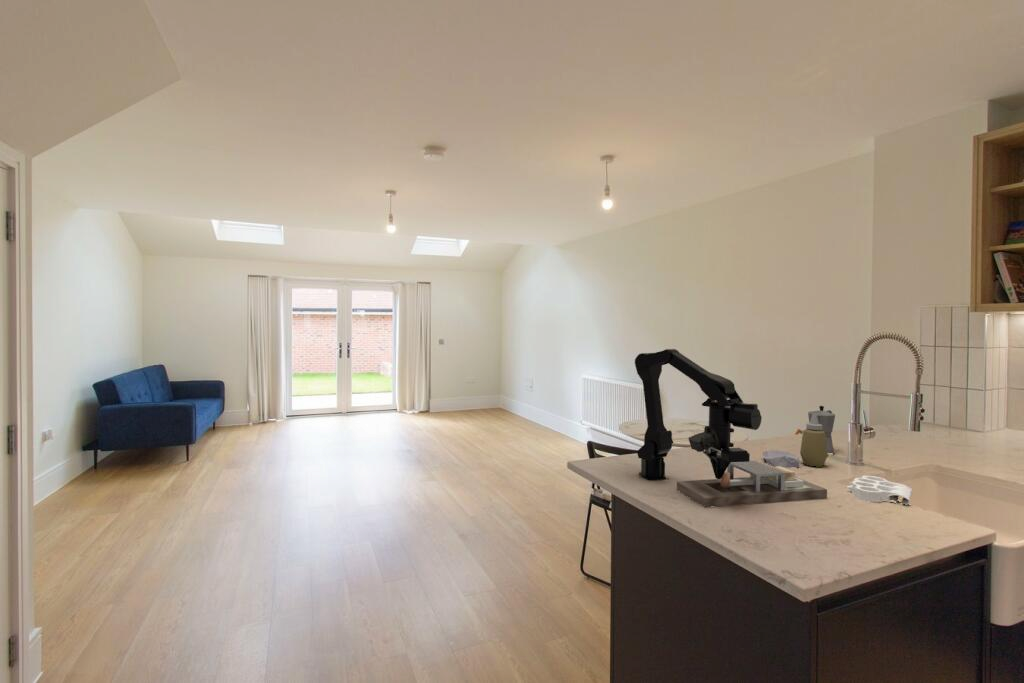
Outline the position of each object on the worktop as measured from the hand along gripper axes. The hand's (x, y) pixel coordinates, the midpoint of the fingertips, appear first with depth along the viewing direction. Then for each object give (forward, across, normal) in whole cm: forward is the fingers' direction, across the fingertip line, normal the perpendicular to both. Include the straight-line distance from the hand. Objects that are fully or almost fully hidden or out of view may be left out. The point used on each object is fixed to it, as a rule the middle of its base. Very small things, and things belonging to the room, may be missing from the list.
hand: (718, 478), depth 136 cm
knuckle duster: (+5, +7, +46) cm, 47 cm away
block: (+2, 0, +20) cm, 20 cm away
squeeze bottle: (+5, -22, +52) cm, 57 cm away
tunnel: (+2, 0, +12) cm, 12 cm away
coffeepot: (+5, -38, +70) cm, 80 cm away
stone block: (+5, -27, +42) cm, 51 cm away
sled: (+2, 0, +13) cm, 13 cm away
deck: (+5, 0, +10) cm, 11 cm away
